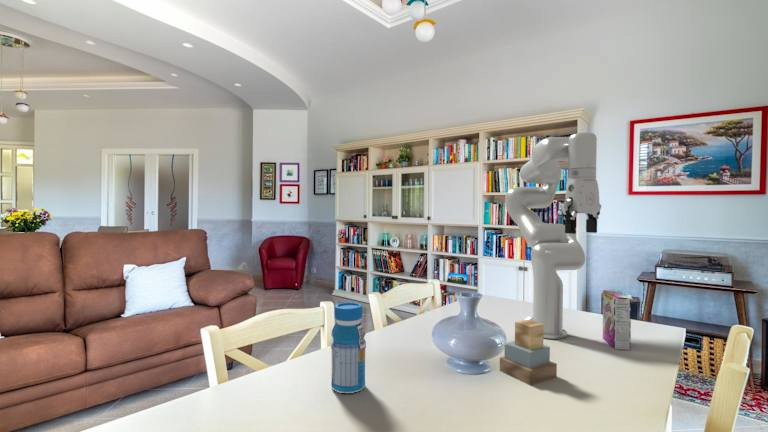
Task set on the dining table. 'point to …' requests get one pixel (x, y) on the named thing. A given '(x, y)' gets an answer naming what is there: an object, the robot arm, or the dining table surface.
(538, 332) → the oak block
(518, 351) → the slate-grey block
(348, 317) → the beverage bottle
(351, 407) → the dining table surface
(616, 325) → the candy bar box
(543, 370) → the walnut slab
